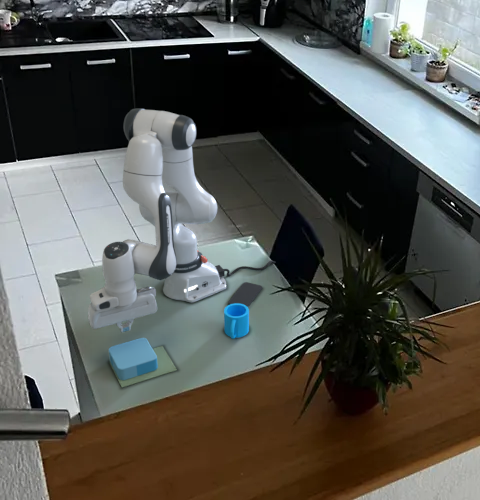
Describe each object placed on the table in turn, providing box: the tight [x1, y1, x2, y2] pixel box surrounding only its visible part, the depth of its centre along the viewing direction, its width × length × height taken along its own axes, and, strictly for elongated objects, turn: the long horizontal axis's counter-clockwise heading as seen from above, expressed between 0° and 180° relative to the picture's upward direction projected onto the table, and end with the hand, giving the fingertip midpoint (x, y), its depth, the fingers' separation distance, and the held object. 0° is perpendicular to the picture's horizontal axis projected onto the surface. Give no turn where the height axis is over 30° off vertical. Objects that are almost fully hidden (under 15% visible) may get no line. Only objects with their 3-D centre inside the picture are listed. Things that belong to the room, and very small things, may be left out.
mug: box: [223, 303, 250, 340], centre depth 230 cm, size 12×8×8 cm
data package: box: [108, 337, 158, 380], centre depth 214 cm, size 12×4×12 cm
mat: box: [108, 345, 178, 389], centre depth 215 cm, size 17×13×1 cm
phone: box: [227, 281, 263, 308], centre depth 250 cm, size 7×1×15 cm
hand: (125, 330), depth 215 cm, fingers closed
